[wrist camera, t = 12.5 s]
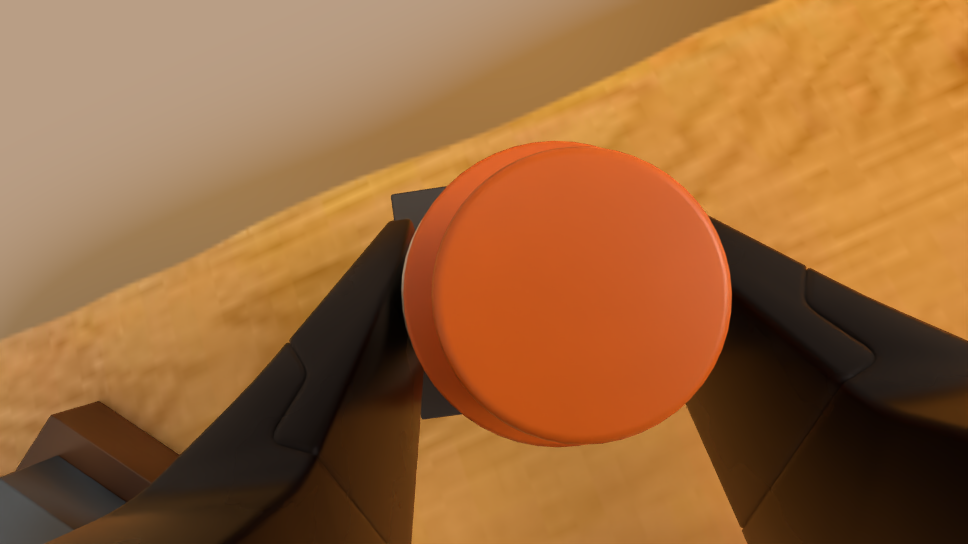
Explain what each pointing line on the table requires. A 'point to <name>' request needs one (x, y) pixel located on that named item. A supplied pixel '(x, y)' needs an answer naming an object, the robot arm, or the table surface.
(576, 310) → the cone
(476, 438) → the table surface
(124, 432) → the block stack
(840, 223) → the table surface
